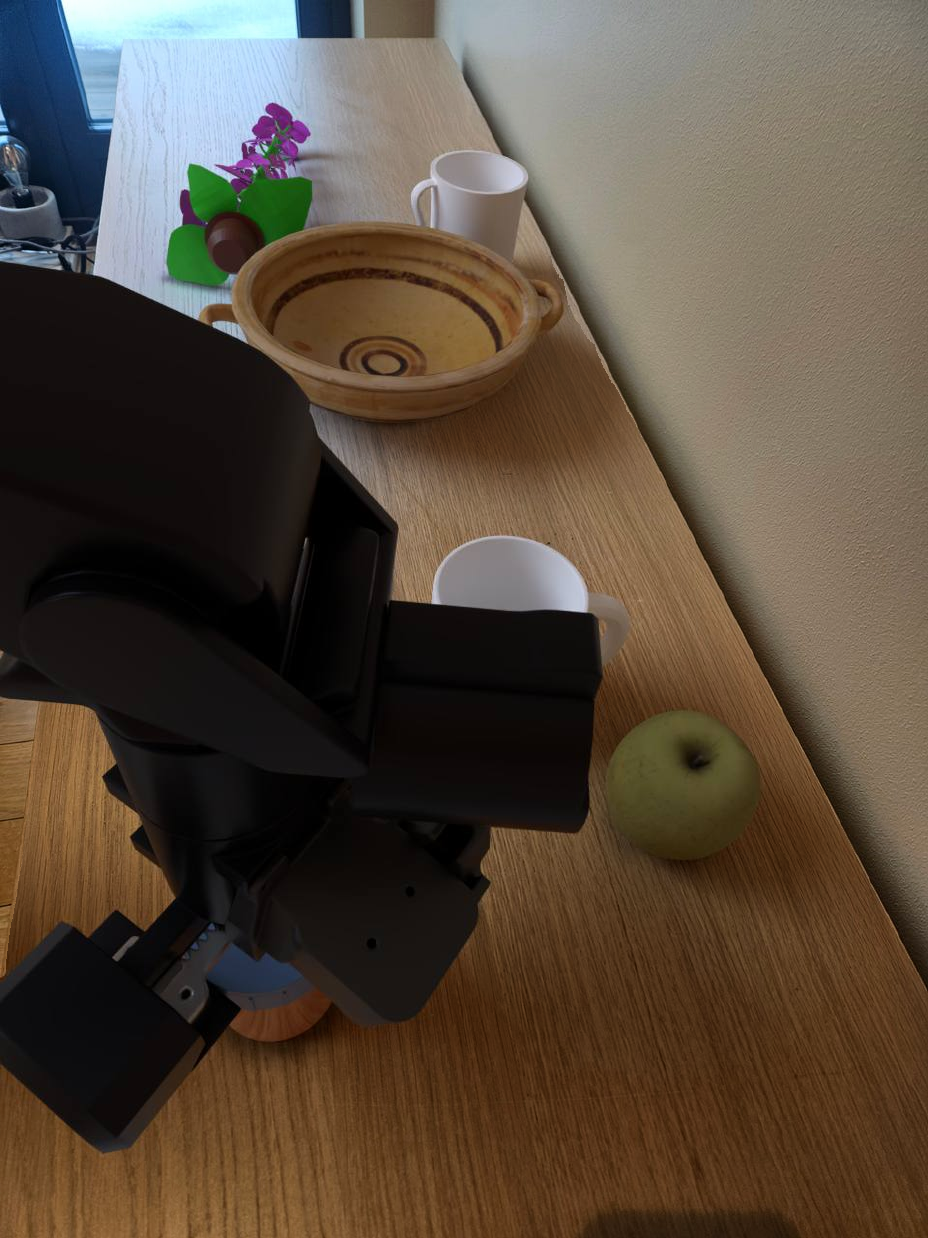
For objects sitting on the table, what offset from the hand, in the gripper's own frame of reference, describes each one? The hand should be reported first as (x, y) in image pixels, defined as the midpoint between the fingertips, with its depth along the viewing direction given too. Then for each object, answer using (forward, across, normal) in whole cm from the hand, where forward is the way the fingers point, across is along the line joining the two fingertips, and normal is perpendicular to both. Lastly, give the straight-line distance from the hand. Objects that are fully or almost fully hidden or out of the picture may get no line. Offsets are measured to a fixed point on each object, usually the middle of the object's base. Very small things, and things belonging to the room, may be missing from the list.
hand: (267, 937), depth 38 cm
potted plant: (+6, +56, +51) cm, 76 cm away
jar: (+5, 0, 0) cm, 5 cm away
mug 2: (+6, +21, -1) cm, 22 cm away
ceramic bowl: (+6, +43, +25) cm, 50 cm away
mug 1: (+6, +61, +29) cm, 67 cm away
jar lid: (-3, 0, 0) cm, 3 cm away
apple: (+6, +19, -12) cm, 23 cm away
